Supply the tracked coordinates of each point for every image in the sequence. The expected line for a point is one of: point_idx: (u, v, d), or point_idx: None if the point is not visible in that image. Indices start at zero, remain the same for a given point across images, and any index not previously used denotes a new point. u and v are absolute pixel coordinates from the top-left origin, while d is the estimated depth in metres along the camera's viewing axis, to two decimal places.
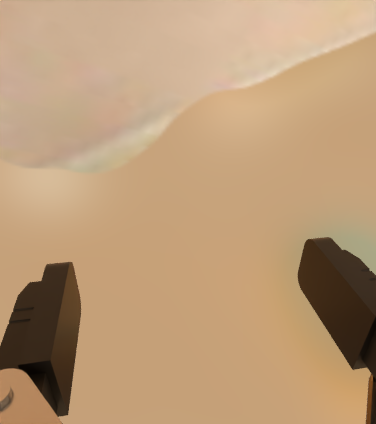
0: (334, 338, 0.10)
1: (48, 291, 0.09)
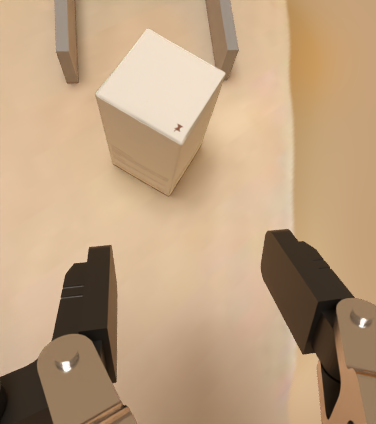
0: (289, 325, 0.11)
1: (95, 270, 0.10)
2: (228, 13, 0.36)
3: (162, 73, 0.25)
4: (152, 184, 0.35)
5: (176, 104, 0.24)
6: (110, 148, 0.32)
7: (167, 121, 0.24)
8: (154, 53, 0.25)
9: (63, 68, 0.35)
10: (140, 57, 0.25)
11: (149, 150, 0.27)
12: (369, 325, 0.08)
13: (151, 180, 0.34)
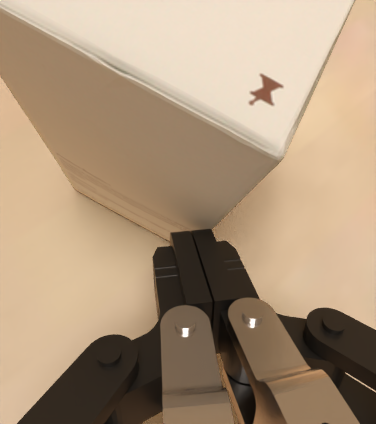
0: None
1: (183, 252, 0.11)
2: None
3: None
4: (156, 231, 0.17)
5: (251, 4, 0.06)
6: (58, 161, 0.14)
7: (220, 65, 0.06)
8: None
9: None
10: None
11: (149, 171, 0.09)
12: (256, 324, 0.08)
13: (154, 225, 0.16)
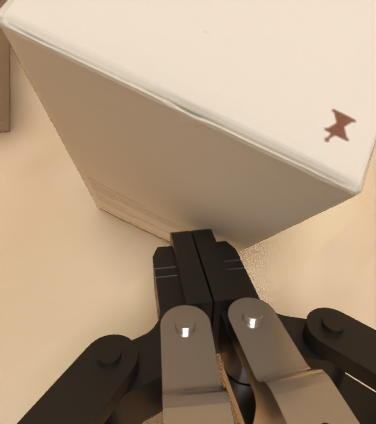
0: None
1: (183, 252, 0.11)
2: None
3: None
4: None
5: (316, 38, 0.06)
6: (88, 184, 0.14)
7: (293, 103, 0.06)
8: None
9: None
10: None
11: (197, 197, 0.09)
12: (256, 324, 0.08)
13: None
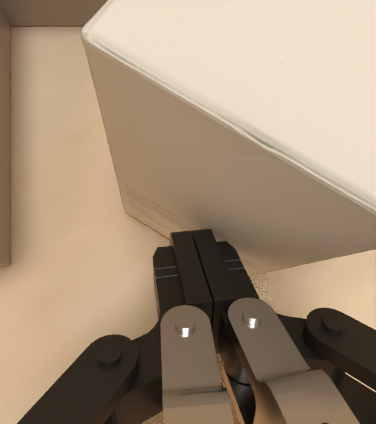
0: None
1: (183, 252, 0.11)
2: None
3: None
4: None
5: None
6: (123, 190, 0.14)
7: (363, 142, 0.06)
8: None
9: None
10: None
11: (241, 218, 0.09)
12: (256, 324, 0.08)
13: None
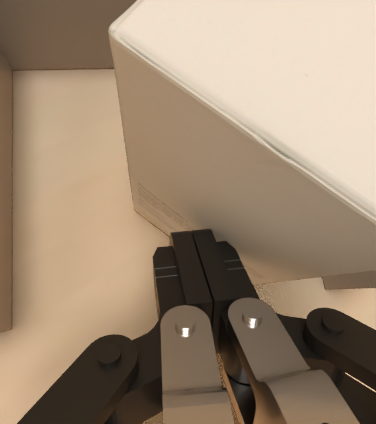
0: None
1: (183, 252, 0.11)
2: None
3: None
4: None
5: None
6: (134, 188, 0.14)
7: None
8: None
9: None
10: None
11: (250, 226, 0.09)
12: (256, 325, 0.08)
13: None
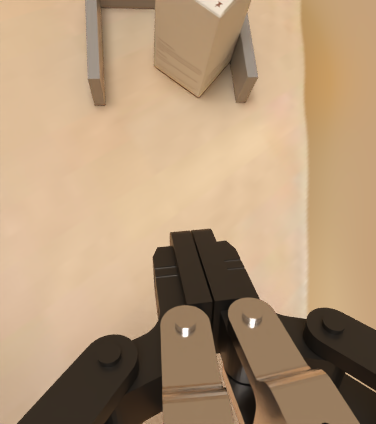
0: None
1: (183, 252, 0.11)
2: (248, 42, 0.39)
3: None
4: (186, 83, 0.41)
5: None
6: (155, 43, 0.38)
7: None
8: None
9: (93, 93, 0.37)
10: None
11: (190, 33, 0.33)
12: (256, 325, 0.08)
13: (186, 77, 0.40)
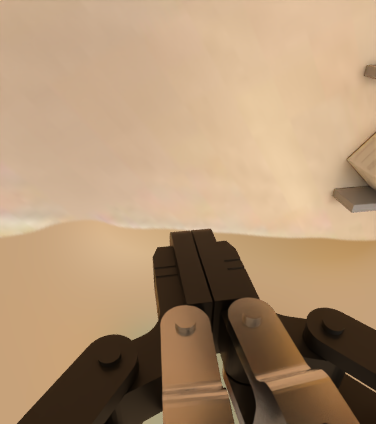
0: None
1: (183, 252, 0.11)
2: None
3: None
4: (362, 151, 0.47)
5: None
6: None
7: None
8: None
9: None
10: None
11: None
12: (256, 325, 0.08)
13: (368, 153, 0.46)
